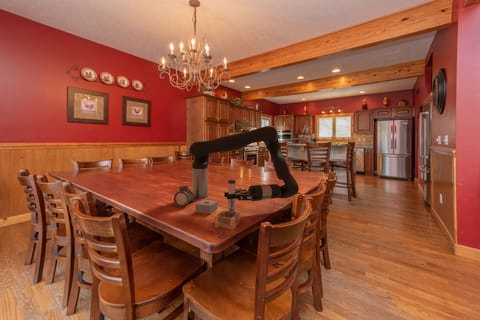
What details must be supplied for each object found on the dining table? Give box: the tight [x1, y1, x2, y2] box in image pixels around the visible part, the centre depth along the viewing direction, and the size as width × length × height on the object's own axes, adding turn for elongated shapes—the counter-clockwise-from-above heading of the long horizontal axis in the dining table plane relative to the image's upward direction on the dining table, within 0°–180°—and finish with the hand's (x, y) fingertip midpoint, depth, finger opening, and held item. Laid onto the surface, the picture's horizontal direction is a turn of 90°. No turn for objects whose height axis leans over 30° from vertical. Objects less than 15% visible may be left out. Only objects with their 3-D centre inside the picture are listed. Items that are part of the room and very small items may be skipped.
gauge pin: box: [227, 179, 236, 212], centre depth 97 cm, size 3×3×16 cm
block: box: [194, 199, 219, 215], centre depth 104 cm, size 8×8×4 cm
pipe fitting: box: [173, 185, 195, 208], centre depth 115 cm, size 12×8×10 cm
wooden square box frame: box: [214, 210, 241, 230], centre depth 87 cm, size 8×8×4 cm
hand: (225, 195), depth 96 cm, fingers closed on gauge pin, 3 cm apart
